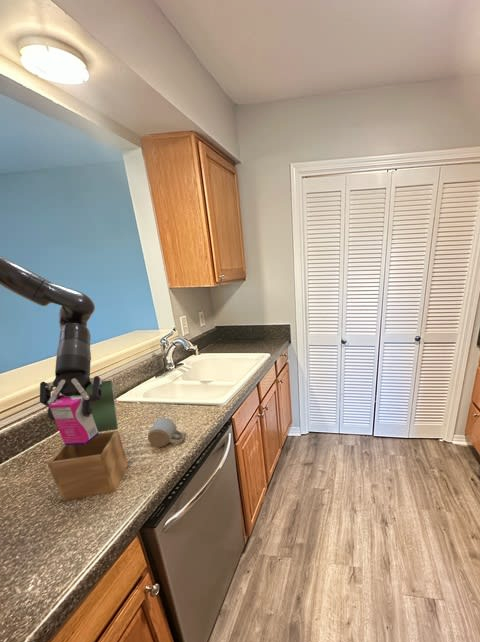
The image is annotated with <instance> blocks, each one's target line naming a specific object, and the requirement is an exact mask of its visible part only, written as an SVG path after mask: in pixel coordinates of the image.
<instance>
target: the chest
mask: <svg viewBox="0 0 480 642" xmlns="http://www.w3.org/2000/svg"><path fill="white" fill-rule="evenodd" d="M98 433H99V434H98V435H97V436H96V437H95V438H93V439H92V440H91V441H90V442H88V443H87V444H86V445H65V444H63V445H62V446H61V447H60V448H59V449H58V451H57V452H56V453H55V454H54V456H52V457H51V459H50V460H49V461H48V462H47V467H48V468H49V471H50V473H51V476H52V478H53V481H54V483H55V485H56V487H57V490H58V493H59V495H60V497H61V500H62V501H69V500H75V499H81V498H87V497H93V496H98V495H105V494H109V493H116V491H117V489H118V488H119V485H120V483H121V480H122V478H123V476H124V474H125V472H126V470H127V467H128V466H129V463H128V459H127V456H126V452H125V448H124V446H123V443H122V439H121V436H120V431H119V430H112V431H105V432H98Z"/></svg>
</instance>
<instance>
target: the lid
mask: <svg viewBox="0 0 480 642" xmlns="http://www.w3.org/2000/svg"><path fill="white" fill-rule="evenodd" d="M102 381H103V386H102V396H101V400H96V401H94V402H93V404H92V416H93V419H94V422H95V425H96V427H97V430H98V433H103V432H111V431H118V430H119V426H118V425H119V424H118V417H117V410H116V400H115V392H114V384H113V380H110V379H109V380H102ZM86 390H87V391H88V393H89V394H90V395H92V391H93V385H92V383H91V384H90V385H89V386H88V387H87V388H86ZM73 396H82V395H81V394H80V395H73Z"/></svg>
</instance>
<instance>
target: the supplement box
mask: <svg viewBox="0 0 480 642" xmlns="http://www.w3.org/2000/svg"><path fill="white" fill-rule="evenodd" d="M83 401H85V399H84V398H83V396H65V397H63V398H61V399H59V400H58V401H56V402H54V403H52V404H51V405H49V407H50V410H51V412H52V415H53V417H54V419H55V421H54V422H55V424H56V426H57V429H58V431H59V434H60V436H61V438H62V441H63V443H64V444H65V445H86V444H87V443H88V442H90V441H91V440H92V439H93V438H95V437H96V436H97V435H98V434H99V433H100V432H98V430H97V427H96V425H95V422H94V419H93V416H92V414H90V416H89V417H85V416H84V415H83ZM64 444H63V445H64Z"/></svg>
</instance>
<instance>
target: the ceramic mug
mask: <svg viewBox="0 0 480 642" xmlns="http://www.w3.org/2000/svg"><path fill="white" fill-rule="evenodd" d="M175 435H176V436H179V437H180V439H173V438H174V436H175ZM184 439H185V435H184V433H182V432H181V431H179V430H177V425H176V423H175V422H174V421H173V420H171V419H169V418H167V417H162V418H158V419H156V420H155V421H154V423H153V425H152V426H151V429H150V430H149V431H148V435H147V440H148V442H149V444H151V445H152V446H154V447H157V448H162V447H165V446H167V445H169V443H171V444H175V445H177V444H181V443H183V441H184Z"/></svg>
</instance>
